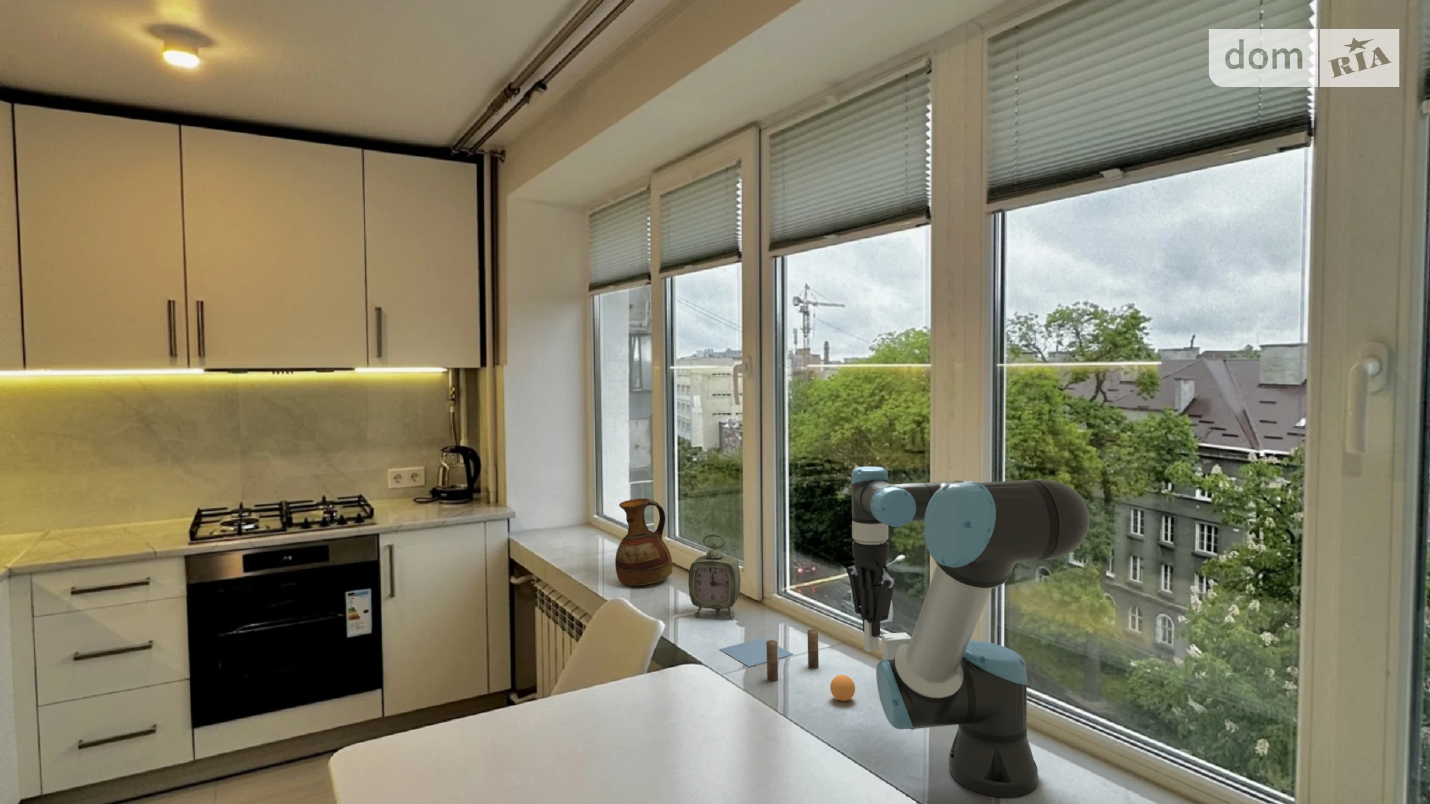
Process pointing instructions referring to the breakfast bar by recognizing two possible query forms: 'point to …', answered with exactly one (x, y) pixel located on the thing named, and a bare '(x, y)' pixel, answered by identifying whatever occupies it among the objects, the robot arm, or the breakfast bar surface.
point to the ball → (842, 687)
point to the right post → (813, 649)
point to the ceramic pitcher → (642, 547)
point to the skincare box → (892, 644)
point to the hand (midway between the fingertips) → (871, 649)
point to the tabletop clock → (714, 580)
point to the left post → (772, 660)
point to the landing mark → (752, 652)
